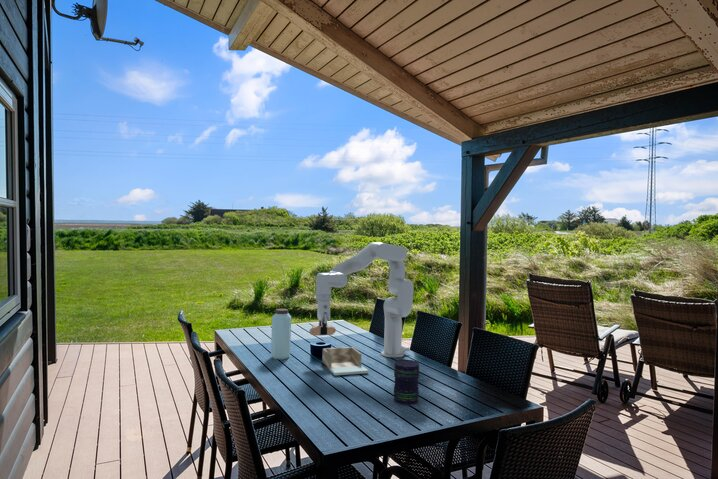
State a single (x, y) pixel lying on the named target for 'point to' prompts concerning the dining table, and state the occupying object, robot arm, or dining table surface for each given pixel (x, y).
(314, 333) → the dome-capped square column
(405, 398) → the storage jar
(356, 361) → the crate
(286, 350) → the water bottle
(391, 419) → the dining table surface
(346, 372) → the tailgate
